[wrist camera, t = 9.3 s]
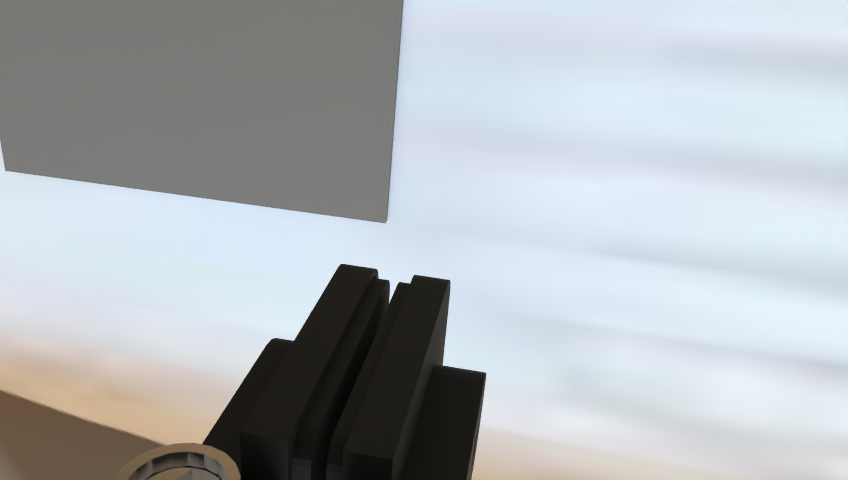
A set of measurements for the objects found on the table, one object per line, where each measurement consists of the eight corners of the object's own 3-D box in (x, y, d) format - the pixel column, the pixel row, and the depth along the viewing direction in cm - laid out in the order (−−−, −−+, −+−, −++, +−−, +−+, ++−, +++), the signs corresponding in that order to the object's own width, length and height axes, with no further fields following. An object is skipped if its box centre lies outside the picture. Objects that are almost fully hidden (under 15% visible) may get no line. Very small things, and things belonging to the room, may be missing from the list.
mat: (411, -107, 39) (409, -107, 38) (387, 219, 47) (385, 223, 46) (-40, -154, 41) (-47, -154, 40) (10, 167, 49) (5, 170, 48)
